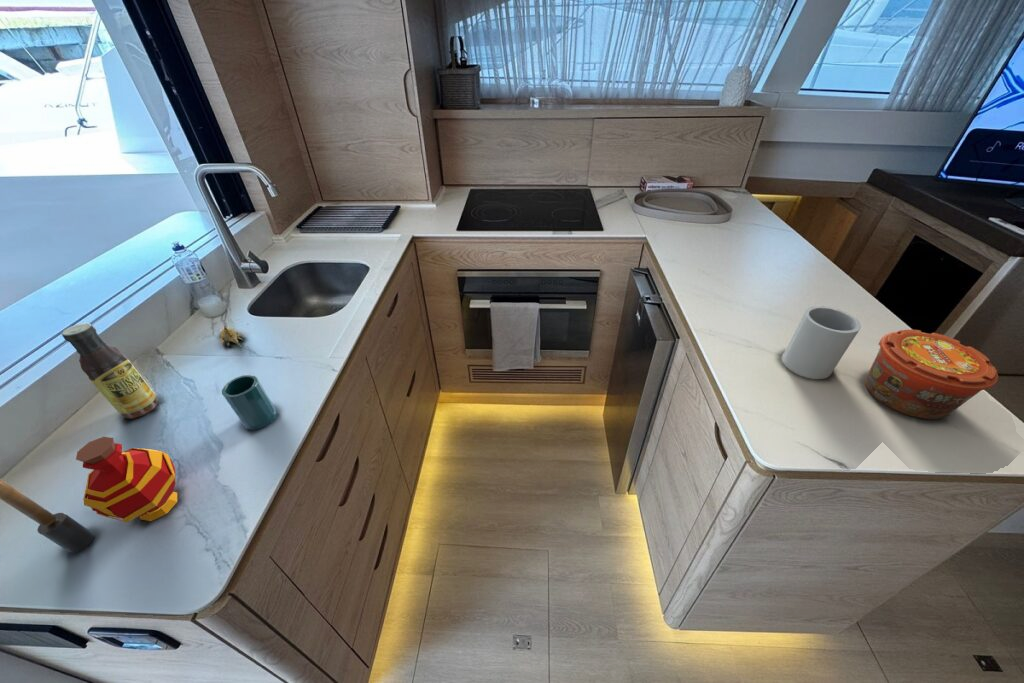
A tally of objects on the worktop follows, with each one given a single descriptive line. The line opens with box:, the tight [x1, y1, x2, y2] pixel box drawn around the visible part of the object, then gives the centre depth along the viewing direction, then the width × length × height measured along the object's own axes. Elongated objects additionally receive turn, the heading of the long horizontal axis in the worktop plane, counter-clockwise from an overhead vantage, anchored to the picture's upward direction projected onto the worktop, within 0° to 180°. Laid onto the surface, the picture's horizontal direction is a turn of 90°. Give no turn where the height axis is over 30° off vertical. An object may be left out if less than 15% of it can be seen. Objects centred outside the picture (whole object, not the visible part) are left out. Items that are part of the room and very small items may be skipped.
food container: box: [864, 329, 999, 421], centre depth 74 cm, size 16×16×11 cm
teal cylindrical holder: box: [221, 374, 278, 431], centre depth 74 cm, size 6×6×9 cm
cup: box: [781, 305, 862, 380], centre depth 81 cm, size 9×9×12 cm
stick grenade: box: [0, 478, 95, 554], centre depth 52 cm, size 3×3×22 cm
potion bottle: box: [75, 436, 178, 523], centre depth 59 cm, size 10×10×15 cm
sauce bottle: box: [61, 322, 159, 420], centre depth 74 cm, size 7×6×20 cm
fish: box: [219, 325, 244, 348], centre depth 95 cm, size 5×14×5 cm, turn 49°
